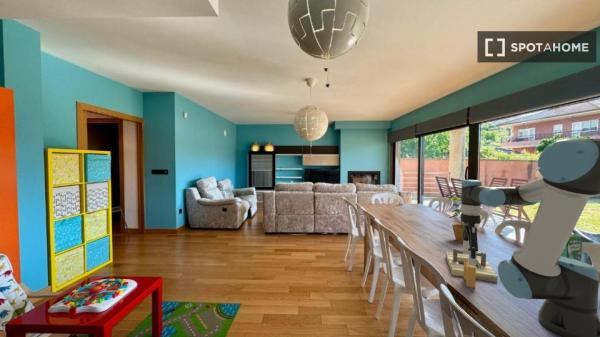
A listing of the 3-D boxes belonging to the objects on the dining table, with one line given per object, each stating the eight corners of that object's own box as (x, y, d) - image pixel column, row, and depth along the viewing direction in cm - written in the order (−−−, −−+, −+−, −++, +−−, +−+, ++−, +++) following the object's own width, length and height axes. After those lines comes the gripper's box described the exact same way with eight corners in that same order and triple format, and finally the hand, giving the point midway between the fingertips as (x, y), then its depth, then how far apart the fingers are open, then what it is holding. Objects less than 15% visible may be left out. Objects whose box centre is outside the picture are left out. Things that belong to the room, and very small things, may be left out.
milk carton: (566, 290, 109) (568, 233, 108) (542, 280, 118) (543, 227, 117) (580, 287, 111) (582, 231, 111) (555, 278, 120) (556, 226, 119)
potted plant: (440, 238, 183) (441, 197, 182) (460, 236, 188) (461, 196, 187) (463, 246, 166) (464, 200, 165) (484, 243, 171) (485, 199, 170)
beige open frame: (497, 282, 116) (497, 275, 116) (452, 275, 123) (452, 268, 123) (483, 262, 139) (483, 257, 139) (445, 257, 146) (446, 252, 146)
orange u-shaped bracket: (475, 288, 111) (475, 267, 110) (467, 286, 112) (467, 266, 112) (470, 279, 119) (471, 260, 119) (463, 277, 120) (463, 259, 120)
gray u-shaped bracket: (485, 271, 127) (486, 254, 127) (453, 266, 133) (453, 249, 133) (484, 270, 129) (485, 252, 129) (452, 265, 135) (453, 248, 134)
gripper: (488, 220, 102) (486, 272, 103) (474, 209, 124) (472, 251, 125) (466, 219, 105) (464, 268, 106) (456, 208, 127) (455, 249, 128)
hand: (469, 259), depth 115 cm, fingers open, 13 cm apart
